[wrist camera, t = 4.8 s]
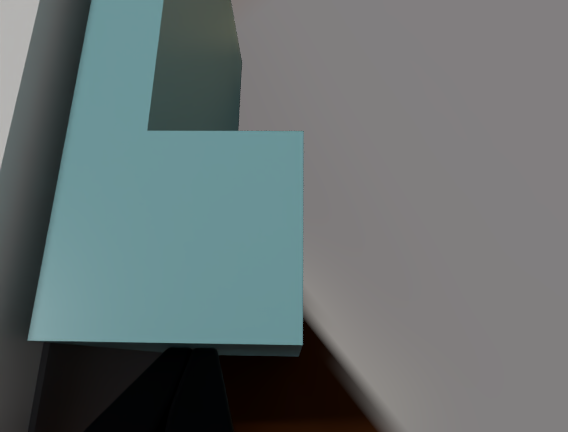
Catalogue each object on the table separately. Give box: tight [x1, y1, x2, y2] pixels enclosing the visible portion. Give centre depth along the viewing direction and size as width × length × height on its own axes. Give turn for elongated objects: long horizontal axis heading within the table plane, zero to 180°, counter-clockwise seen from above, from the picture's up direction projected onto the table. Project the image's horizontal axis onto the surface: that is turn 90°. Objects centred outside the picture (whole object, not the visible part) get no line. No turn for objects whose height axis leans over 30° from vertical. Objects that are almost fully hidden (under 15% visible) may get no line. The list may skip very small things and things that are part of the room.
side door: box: [27, 0, 304, 357], centre depth 12 cm, size 11×4×9 cm, turn 179°
